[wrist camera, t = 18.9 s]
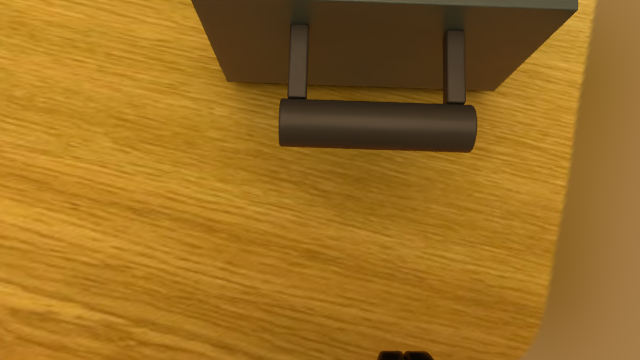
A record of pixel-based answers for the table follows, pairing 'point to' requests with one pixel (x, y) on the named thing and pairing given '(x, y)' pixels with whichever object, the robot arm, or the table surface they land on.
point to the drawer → (378, 62)
